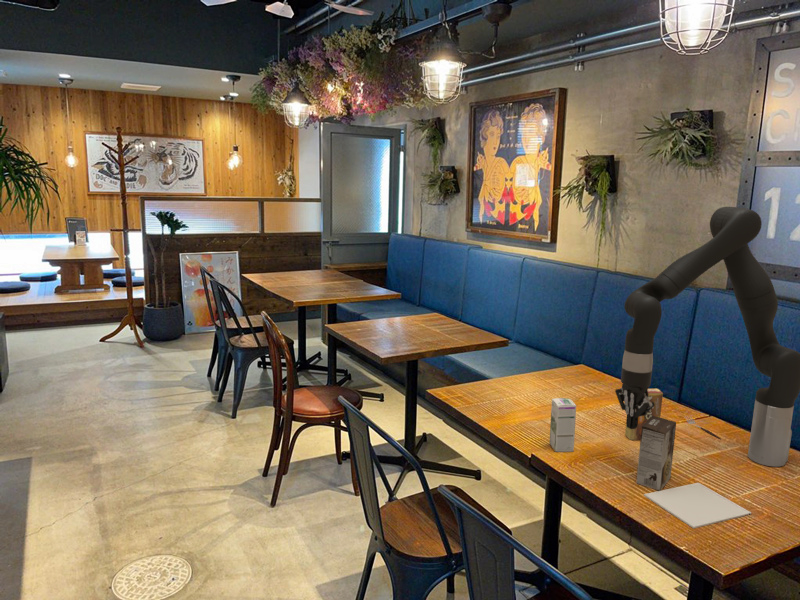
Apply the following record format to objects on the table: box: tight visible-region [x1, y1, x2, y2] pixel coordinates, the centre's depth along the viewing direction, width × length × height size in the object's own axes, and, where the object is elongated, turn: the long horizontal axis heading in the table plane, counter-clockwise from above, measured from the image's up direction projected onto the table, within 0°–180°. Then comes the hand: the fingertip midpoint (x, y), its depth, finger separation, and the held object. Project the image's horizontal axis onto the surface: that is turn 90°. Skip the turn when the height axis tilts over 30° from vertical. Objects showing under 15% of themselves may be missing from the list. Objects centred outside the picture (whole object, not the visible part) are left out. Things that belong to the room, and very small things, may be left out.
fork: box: [684, 415, 722, 440], centre depth 193 cm, size 3×16×2 cm, turn 12°
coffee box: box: [636, 416, 677, 491], centre depth 158 cm, size 9×6×16 cm
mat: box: [643, 482, 752, 529], centre depth 148 cm, size 18×16×1 cm
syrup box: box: [549, 397, 577, 453], centre depth 177 cm, size 6×6×14 cm
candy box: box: [624, 388, 664, 441], centre depth 185 cm, size 9×4×15 cm, turn 92°
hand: (631, 427), depth 166 cm, fingers closed
